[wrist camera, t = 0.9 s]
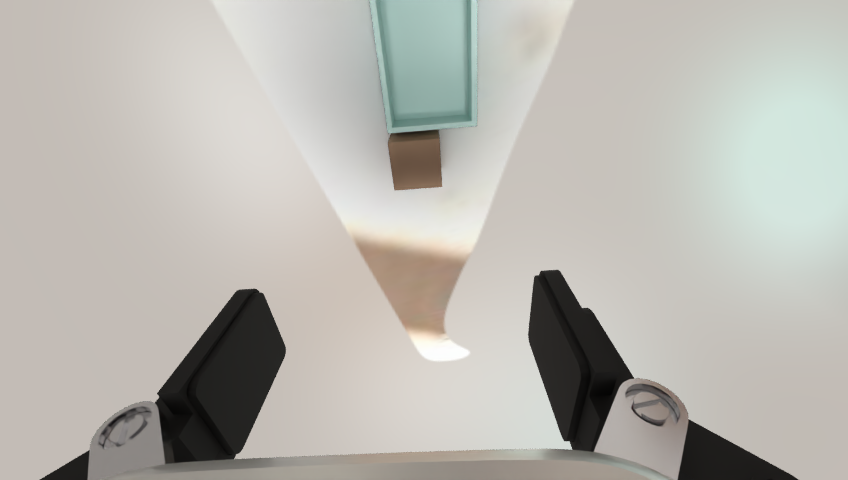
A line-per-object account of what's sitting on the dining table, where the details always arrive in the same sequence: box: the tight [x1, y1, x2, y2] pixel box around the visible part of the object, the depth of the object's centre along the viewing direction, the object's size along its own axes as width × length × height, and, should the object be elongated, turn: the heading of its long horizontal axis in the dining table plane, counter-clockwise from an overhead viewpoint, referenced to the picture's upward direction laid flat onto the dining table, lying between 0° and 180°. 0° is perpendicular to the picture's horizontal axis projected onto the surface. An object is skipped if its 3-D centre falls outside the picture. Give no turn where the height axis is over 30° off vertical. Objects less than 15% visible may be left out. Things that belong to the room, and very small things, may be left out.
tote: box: [369, 0, 477, 133], centre depth 25 cm, size 10×7×3 cm, turn 5°
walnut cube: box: [388, 129, 442, 190], centre depth 29 cm, size 4×4×4 cm
